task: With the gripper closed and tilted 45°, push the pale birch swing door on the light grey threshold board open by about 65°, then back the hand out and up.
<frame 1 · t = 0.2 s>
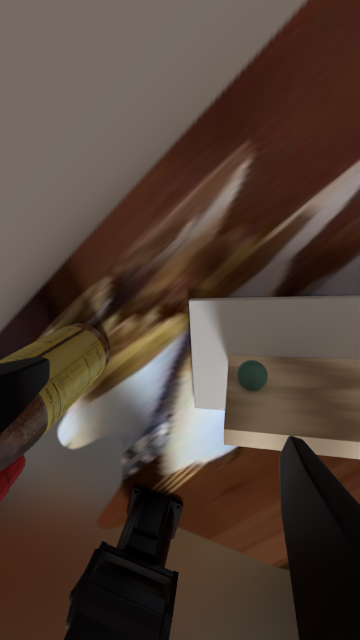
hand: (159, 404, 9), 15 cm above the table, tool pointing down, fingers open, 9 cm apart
threshold board: (304, 356, 22), on the table
door: (337, 385, 16), point 6 cm above the table, hinge at 0.0°
sauce bottle: (89, 347, 27), on the table
plastic cup: (8, 452, 35), on the table
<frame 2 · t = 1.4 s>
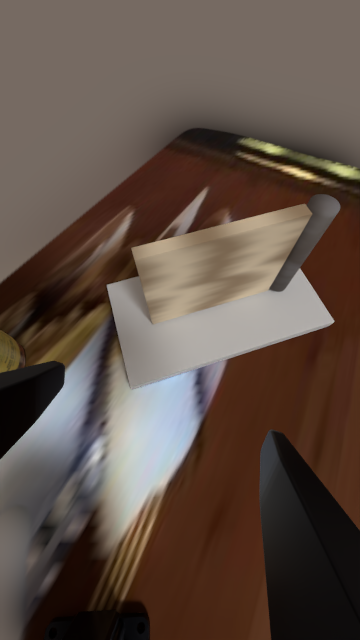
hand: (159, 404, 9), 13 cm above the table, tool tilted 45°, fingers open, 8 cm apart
threshold board: (214, 307, 26), on the table
door: (225, 263, 21), point 6 cm above the table, hinge at 0.0°
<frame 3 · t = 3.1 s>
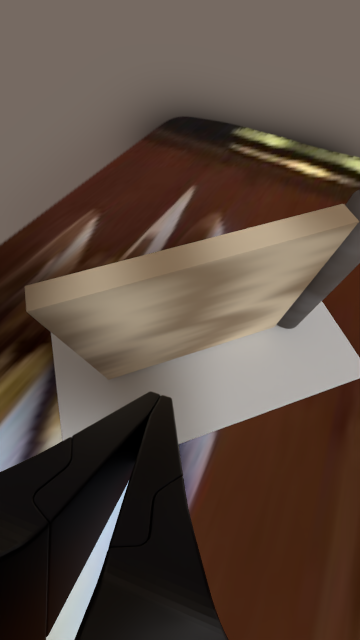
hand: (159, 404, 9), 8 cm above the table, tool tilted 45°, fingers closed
threshold board: (199, 349, 18), on the table
door: (210, 296, 13), point 6 cm above the table, hinge at 0.0°
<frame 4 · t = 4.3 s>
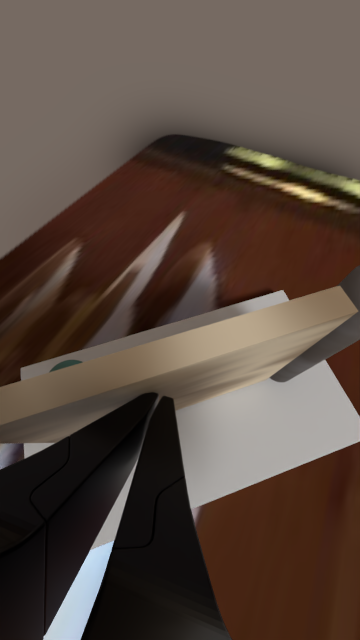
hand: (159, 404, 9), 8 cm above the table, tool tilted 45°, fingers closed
threshold board: (184, 402, 17), on the table
door: (190, 364, 12), point 6 cm above the table, hinge at 0.4°, touching gripper
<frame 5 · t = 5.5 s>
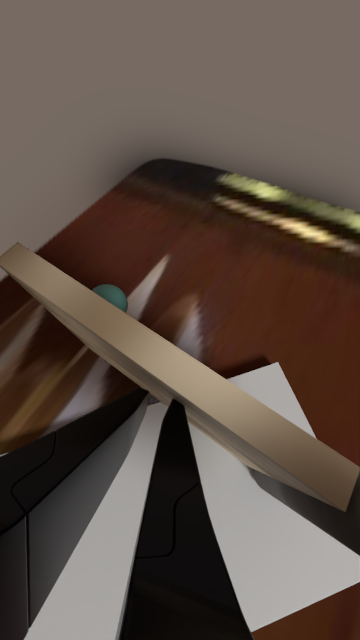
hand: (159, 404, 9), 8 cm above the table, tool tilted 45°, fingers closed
threshold board: (158, 509, 14), on the table
door: (187, 379, 11), point 6 cm above the table, hinge at 52.8°, touching gripper
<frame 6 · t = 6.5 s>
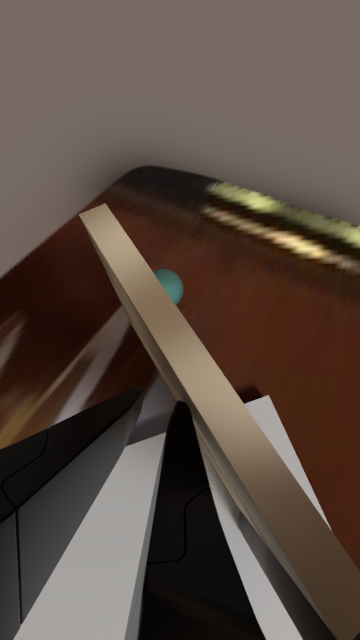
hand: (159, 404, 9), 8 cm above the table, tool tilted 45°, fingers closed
threshold board: (136, 564, 13), on the table
door: (211, 395, 11), point 6 cm above the table, hinge at 76.7°, touching gripper
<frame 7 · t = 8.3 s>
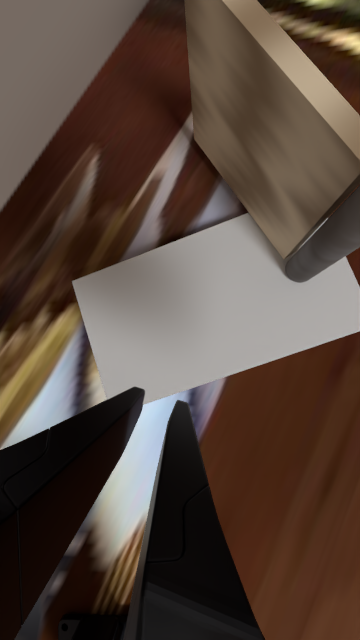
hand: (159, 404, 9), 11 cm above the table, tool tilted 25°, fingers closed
threshold board: (212, 303, 20), on the table
door: (276, 149, 14), point 6 cm above the table, hinge at 76.8°
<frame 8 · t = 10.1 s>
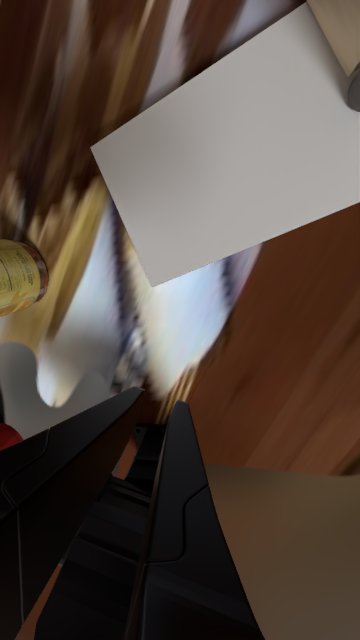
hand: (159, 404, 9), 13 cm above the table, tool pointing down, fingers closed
threshold board: (249, 158, 17), on the table
sauce bottle: (27, 272, 24), on the table
plastic cup: (6, 438, 32), on the table
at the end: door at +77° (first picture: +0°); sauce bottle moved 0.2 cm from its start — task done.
